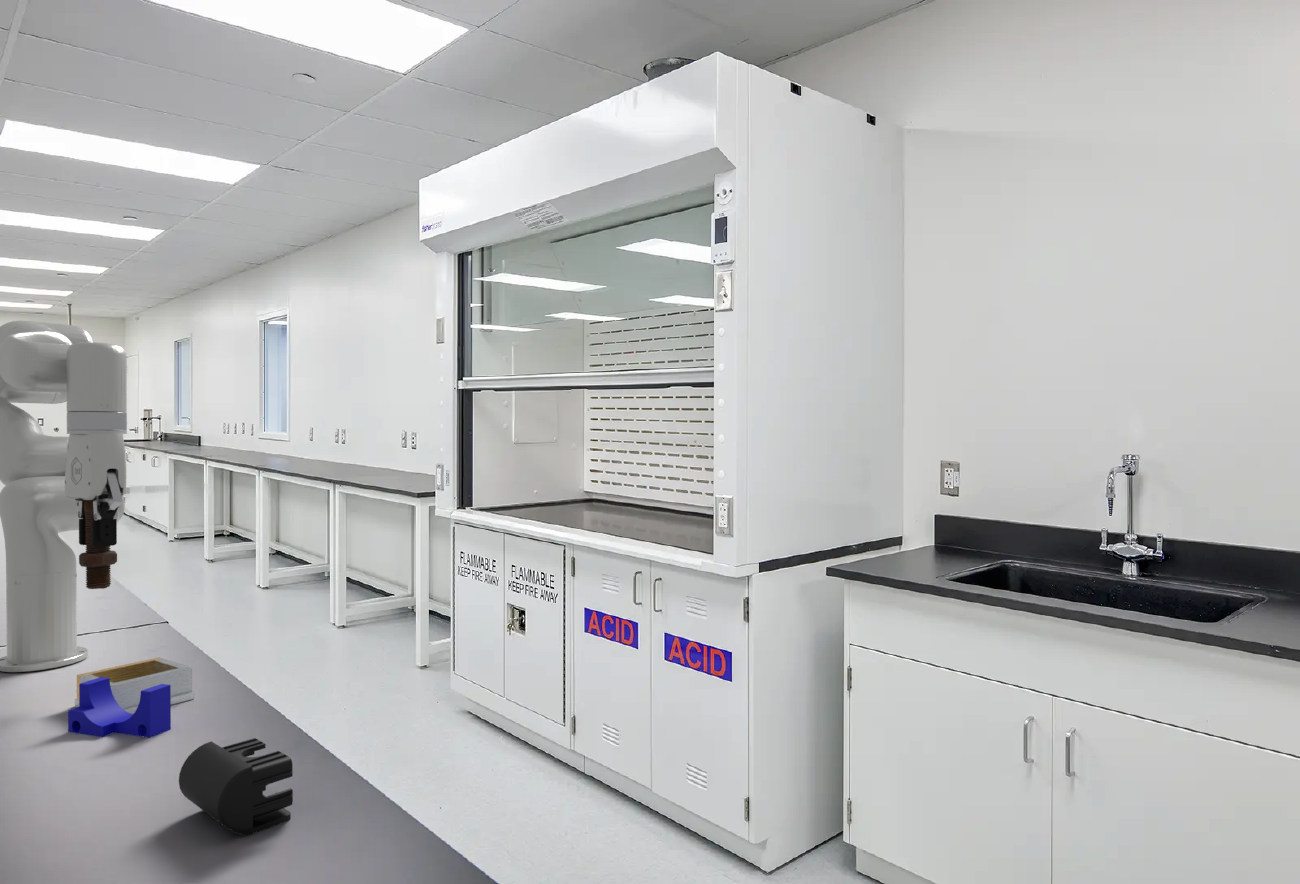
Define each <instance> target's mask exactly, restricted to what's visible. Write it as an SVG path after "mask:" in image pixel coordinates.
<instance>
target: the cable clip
mask: <svg viewBox="0 0 1300 884" xmlns="http://www.w3.org/2000/svg"><path fill="white" fill-rule="evenodd" d="M171 707H172V705H171V685H167V684H160V685H157V686H154V687H151V688H148V689H145V690H142V691H141V696H140V702H139V705H138V707H137V710H136V711H135V713H134V714H130V713H128V712H126V711H125V710H123V709H122V708H121V707H120V706H119V704H118V703H117V702H116V700H115V698H114V696H113V694H112V691H111V687H110V678H104V677H100V678H97V679H93V680H90V681H87V682H83V683H80V684H79V707H76V706H75V707H74V708H70V709H68V710H67V731H68V732H67V733H71V734H72V733H73V734H77V735H86V736H92V737H99V738H100V737H101V738H105V737H106V736H110V735H113V734H119V735H120V734H121V735H127V736H135V737H143V738H148V739H150V738H154V737H155V736H158V735H160V734H163V733H165V732H167V731H170V730H171V729H172V728H171V726H172V725H171V724H172V723H171V722H172V721H171V720H172V719H171V718H172V716H171V713H172V712H171Z"/></svg>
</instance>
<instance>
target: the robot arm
mask: <svg viewBox="0 0 1300 884" xmlns="http://www.w3.org/2000/svg"><path fill="white" fill-rule="evenodd" d="M127 363H128V362H127V353H126V351H125V349H124V348H123V347H122V346H120V345H117V344H113V343H107V342H94V339H93V338H92V336H91V334H90V333H89V332H88V331H87V330H86V329H84V328H82V327H80V326H78V325H72V324H61V323H52V322H42V321H35V320H34V321H33V320H14V321H9V322H6V323H4V324H1V326H0V482H1V483H2V484H3V485H4V487H2V489H1V490H0V522H1V527H2V533H3V537H4V549H5V578H6V579H5V581H6V582H5V584H6V586H5V587H6V588H5V589H6V590H5V591H6V593H5V594H6V595H5V596H6V601H5V604H6V611H5V612H6V618H5V619H6V655H5V656H2V657H0V672H2V673H3V672H6V673H25V672H26V673H27V672H36V671H43V670H49V669H54V668H55V669H56V668H59V667H61V668H62V667H65V666H69V665H72V664H75V663H78V662H81V661H83V660H85V659H86V658H87V657H88V656H89V650H88V648H86V647H83V646H78V640H77V639H78V630H77V629H78V627H77V626H78V625H77V624H78V623H77V622H78V621H77V617H78V616H77V615H78V613H77V611H78V610H77V609H78V605H77V602H78V597H77V596H78V595H77V594H78V593H77V584H78V583H77V582H78V581H77V575H78V574H77V557H76V554H75V552H74V550H73V549H72V547H71V546H70V545H69V544H68V543H66V541H64V540H63V539H62V538H61V537H60V535H59V533H63V532H68V531H69V532H71V531H78V544H79V545H81V546H86V544H87V543H85V542H87V541H85V540H86V536H85V535H86V534H85V533H87V532H85V531H87V530H85V529H86V528H85V527H86V525H85V524H86V523H85V522H87V521H85V520H86V519H85V518H86V517H85V515H86V514H85V511H84V501H77V500H75V499H79V498H81V499H83V500H93V499H94V501H93V510H94V519H95V520H91V545H92V547H103V546H115V545H117V544H118V543H117V541H118V539H117V537H118V536H117V535H118V534H117V533H118V531H117V530H118V527H117V526H118V522H120V520H121V519H122V517H123V515H124V513H125V508H126V505H125V503H126V502H125V496H124V495H125V494H126V491H127V462H126V448H125V440H124V435H127V434H128V430H127V429H128V426H127V424H128V421H127V420H128V417H127V416H128V415H127V414H128V413H127V412H128V411H127V405H128V404H127V390H128V389H127V388H128V386H127V370H128V369H127ZM17 403H18V404H41V405H42V404H43V405H45V404H47V405H48V404H49V405H50V404H51V405H55V404H58V405H59V404H63V403H66V435H68V436H56V435H55V436H52V435H46V434H45V433H44V431H43V430H42V427H41V425H40V424H39V422H38V421H37V419H35V417H33V416H32V415H31V414H30V413H28V412H27V411H26V410H24V409H23V408H21V407H18V406H17V405H15V404H17ZM102 494H108V498H104V499H99V495H102ZM100 503H103V505H102V507H101V504H100Z"/></svg>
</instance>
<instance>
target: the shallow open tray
mask: <svg viewBox="0 0 1300 884" xmlns="http://www.w3.org/2000/svg"><path fill="white" fill-rule="evenodd" d="M100 677H104V678H110V687H111V691H112V694H113V696H114V698H115V700H116V702H117V703H118V704H119V706H120V707H121V708H122V709H123V710H125V711H126V712H128V713H130V714H134V713H135V711H136V710H137V707H138V705H139V702H140V696H141V691H142V690H145V689H148V688H151V687H154V686H157V685H160V684H167V685H171V706H172V705H175V704H180V703H182V702H187V701H191V700H194V699H195V691H193V667H192V666H189V665H186V664H181V663H180V662H179V663H178V662H176V661H172V660H169V659H166V658H162V657H154V658H149V659H144V660H139V661H135V662H131V663H127V664H122V665H118V666H112V667H108V668H104V669H103V668H102V669H98V670H93V671H88V672H84V673H80V674H76V698H75V699H74V707H75V708H76V707H79V684H80V683H83V682H87V681H90V680H93V679H97V678H100Z"/></svg>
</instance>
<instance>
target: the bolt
mask: <svg viewBox="0 0 1300 884" xmlns="http://www.w3.org/2000/svg"><path fill="white" fill-rule="evenodd" d="M104 498H108V494H102V495H99V499H104ZM75 500H77V501H84V511H85V514H86V515H85V517H86V518H85V519H86V520H85V521H87V522H85V523H86V524H85V525H86V527H85V528H86V529H85V530H87V531H85V532H87V533H85V534H86V535H85V536H86V540H85V541H87V542H85V543H87V544H86V545H85V551H84V552H82V553H80V554H79V555H78V564H79V566H81V567H82V568H83V567H85V581H86V582H85V583H86V584H85V585H86V586H85V587H86V588H87V589H88V590H99V589H103V590H104V589H107V588H110V587H111V585H112V583H111V582H112V581H111V580H112V578H111V571H112V570H111V569H112V566H113V565H115V564H116V563H118V553H117V552H116V551H115V550H111V549H112V547H111V546H103V547H92V545H91V520H95V519H94V510H93V501H94V499H93V500H83V499H81V498H79V499H75ZM100 504H101V507H102V505H103V503H100Z"/></svg>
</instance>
